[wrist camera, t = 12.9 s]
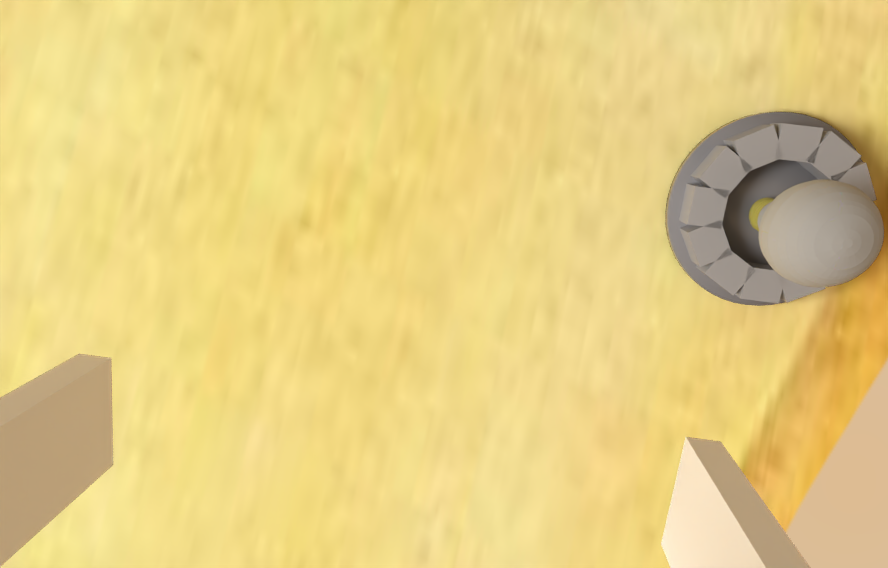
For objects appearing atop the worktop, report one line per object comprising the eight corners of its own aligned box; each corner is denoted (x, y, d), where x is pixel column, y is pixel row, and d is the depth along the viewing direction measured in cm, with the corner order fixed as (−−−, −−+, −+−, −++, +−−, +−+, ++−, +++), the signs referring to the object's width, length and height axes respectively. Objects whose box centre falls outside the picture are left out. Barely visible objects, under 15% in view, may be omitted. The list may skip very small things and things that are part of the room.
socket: (686, 101, 39) (700, 99, 37) (887, 124, 39) (914, 124, 36) (649, 289, 42) (658, 300, 40) (834, 313, 42) (856, 325, 39)
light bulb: (728, 268, 41) (802, 314, 31) (706, 187, 40) (774, 208, 30) (816, 240, 40) (920, 278, 30) (796, 156, 39) (896, 168, 29)
